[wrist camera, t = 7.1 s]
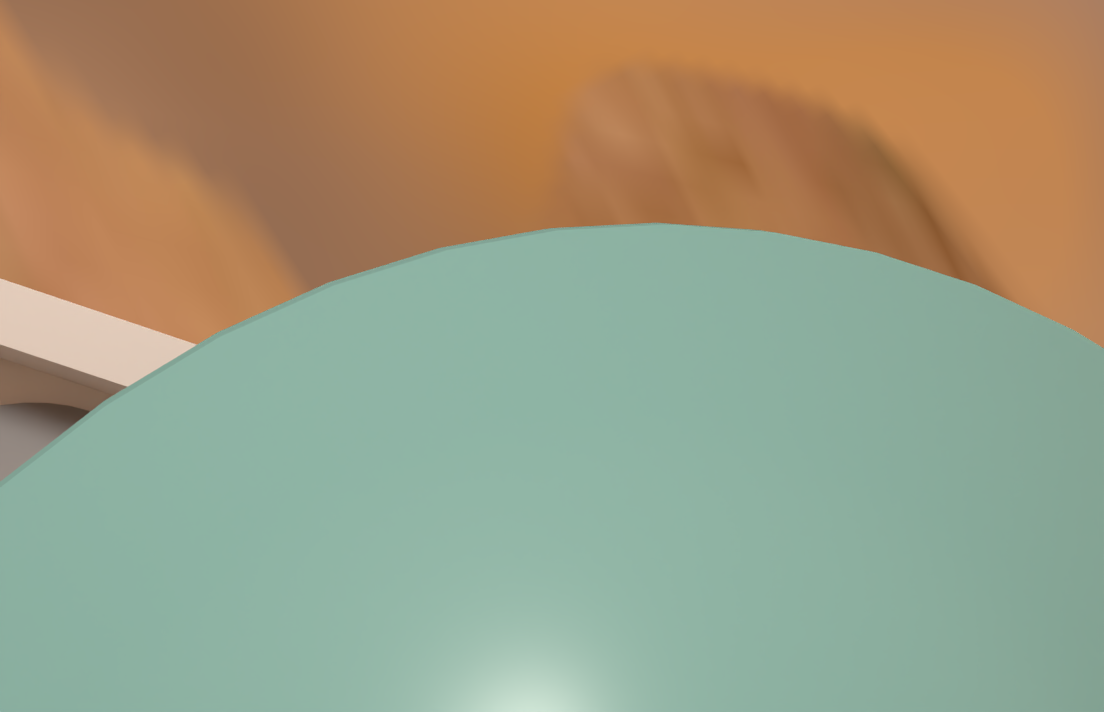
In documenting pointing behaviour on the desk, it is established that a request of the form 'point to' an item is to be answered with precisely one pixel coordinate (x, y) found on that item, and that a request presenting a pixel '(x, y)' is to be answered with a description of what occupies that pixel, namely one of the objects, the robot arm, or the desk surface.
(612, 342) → the green banded cylinder
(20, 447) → the housing
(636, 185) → the desk surface
